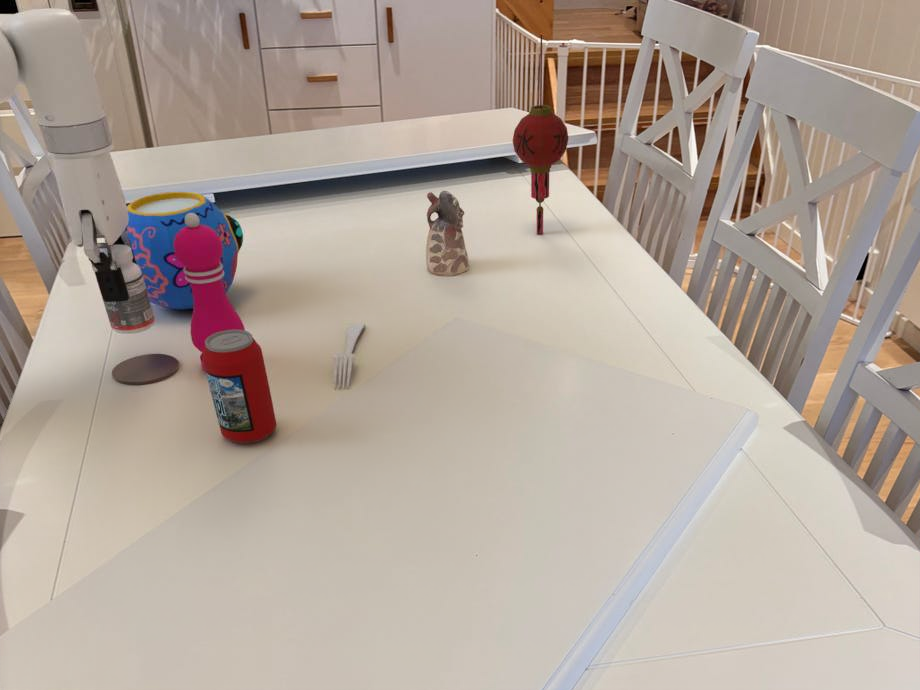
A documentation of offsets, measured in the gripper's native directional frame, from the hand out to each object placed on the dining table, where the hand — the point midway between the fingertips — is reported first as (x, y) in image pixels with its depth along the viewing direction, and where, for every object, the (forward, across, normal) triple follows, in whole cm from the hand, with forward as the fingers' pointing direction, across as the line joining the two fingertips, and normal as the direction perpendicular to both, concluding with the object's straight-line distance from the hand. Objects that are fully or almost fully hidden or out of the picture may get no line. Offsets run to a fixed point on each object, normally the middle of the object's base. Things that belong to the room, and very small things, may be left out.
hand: (122, 289), depth 119 cm
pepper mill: (+11, 0, +11) cm, 16 cm away
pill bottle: (+5, 0, 0) cm, 5 cm away
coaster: (+11, 0, 0) cm, 11 cm away
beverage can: (+11, +20, +17) cm, 29 cm away
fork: (+11, -1, +28) cm, 30 cm away
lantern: (+12, -48, +60) cm, 78 cm away
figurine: (+11, -33, +43) cm, 55 cm away
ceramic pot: (+11, -24, +2) cm, 27 cm away
